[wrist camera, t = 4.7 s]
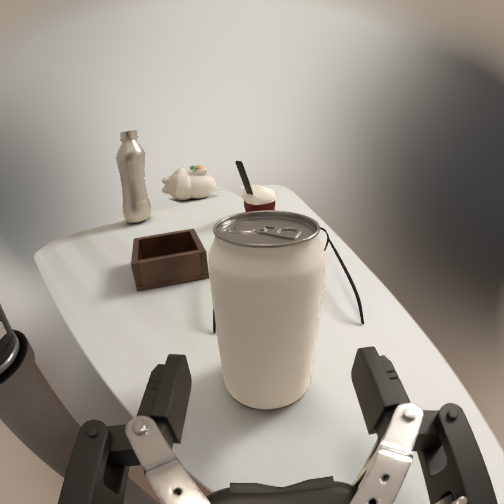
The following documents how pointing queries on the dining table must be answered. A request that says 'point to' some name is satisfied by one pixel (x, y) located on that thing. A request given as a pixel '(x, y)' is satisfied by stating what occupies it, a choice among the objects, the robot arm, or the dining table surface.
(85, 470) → the robot arm
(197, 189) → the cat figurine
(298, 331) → the can
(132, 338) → the dining table surface
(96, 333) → the dining table surface
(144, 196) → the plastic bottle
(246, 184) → the cocoa
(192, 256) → the tray
